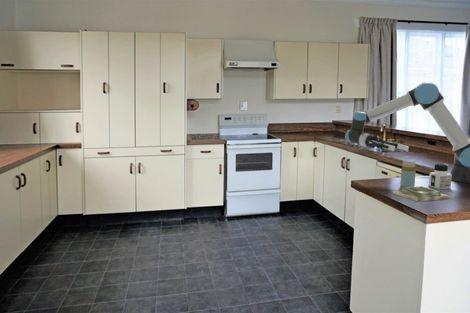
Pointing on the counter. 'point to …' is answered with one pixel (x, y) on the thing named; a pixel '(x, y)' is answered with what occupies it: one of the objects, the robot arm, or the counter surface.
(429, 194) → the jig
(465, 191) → the counter surface
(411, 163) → the bottle
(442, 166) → the container
